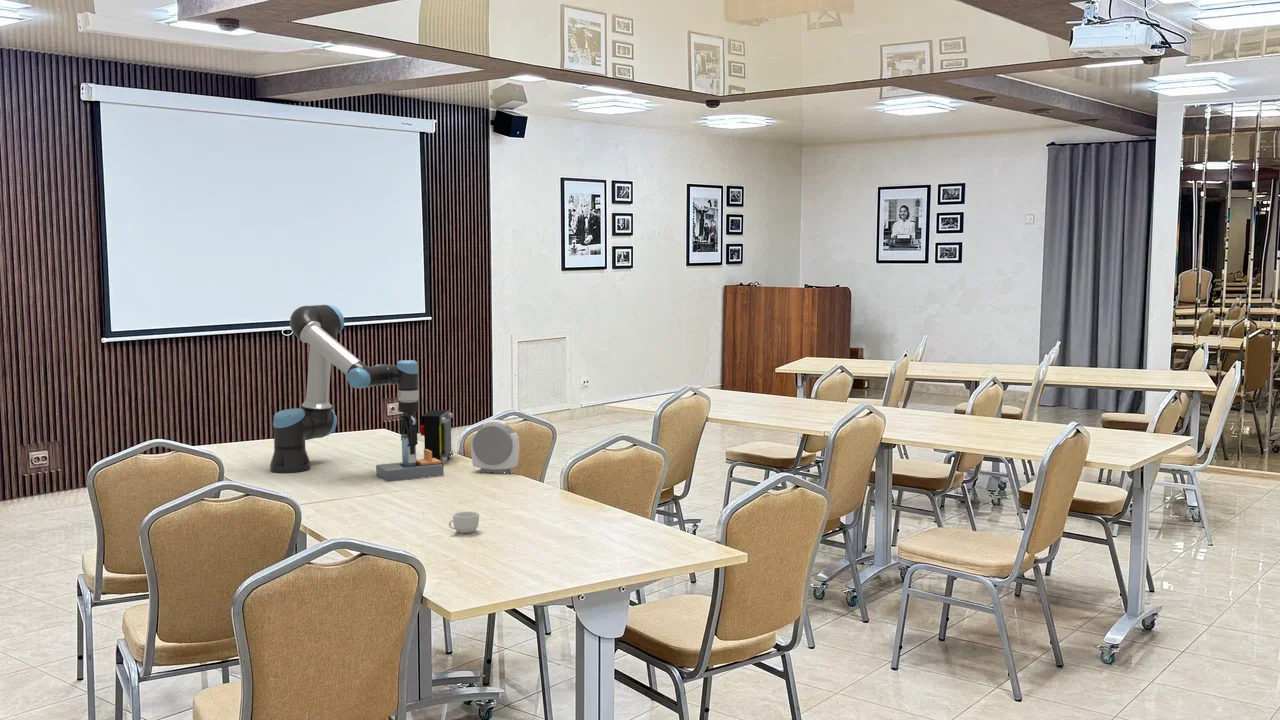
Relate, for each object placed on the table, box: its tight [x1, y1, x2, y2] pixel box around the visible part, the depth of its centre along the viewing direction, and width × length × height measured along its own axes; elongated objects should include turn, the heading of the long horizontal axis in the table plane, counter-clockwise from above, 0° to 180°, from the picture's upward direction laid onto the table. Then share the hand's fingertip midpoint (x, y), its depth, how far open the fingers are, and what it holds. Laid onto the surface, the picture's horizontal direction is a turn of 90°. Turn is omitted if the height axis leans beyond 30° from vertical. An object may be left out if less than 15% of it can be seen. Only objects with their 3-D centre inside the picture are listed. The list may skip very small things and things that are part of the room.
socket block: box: [375, 461, 445, 482], centre depth 400 cm, size 14×22×4 cm, turn 120°
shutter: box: [416, 448, 442, 465], centre depth 403 cm, size 8×8×5 cm
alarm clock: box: [470, 419, 521, 475], centre depth 406 cm, size 18×8×20 cm, turn 80°
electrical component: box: [419, 409, 454, 465], centre depth 429 cm, size 18×10×20 cm, turn 179°
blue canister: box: [401, 433, 417, 467], centre depth 400 cm, size 5×5×13 cm
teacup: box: [448, 510, 480, 534], centre depth 314 cm, size 10×8×5 cm
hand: (409, 461), depth 400 cm, fingers closed on blue canister, 5 cm apart
